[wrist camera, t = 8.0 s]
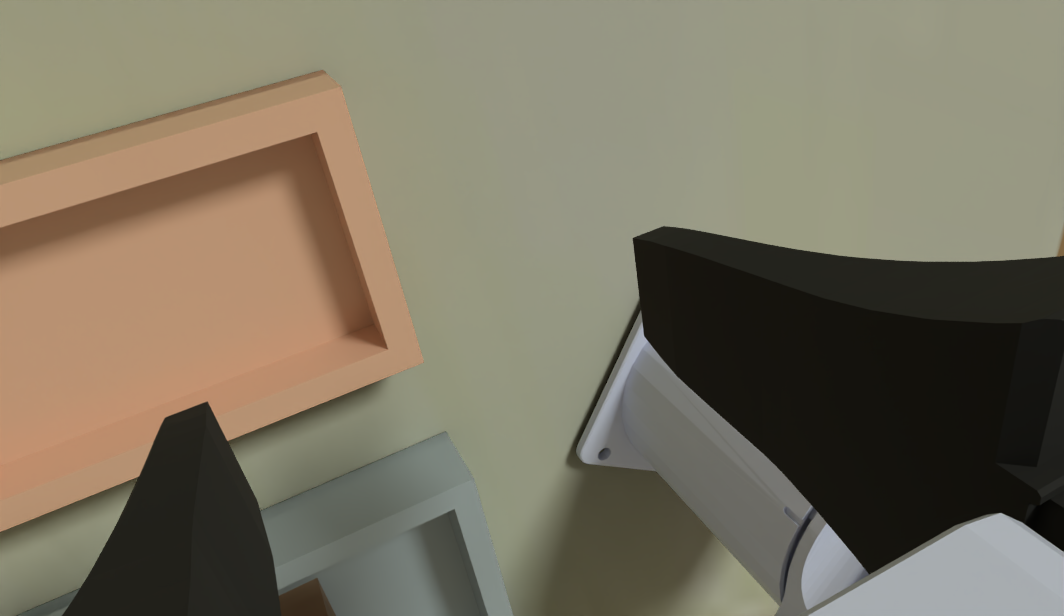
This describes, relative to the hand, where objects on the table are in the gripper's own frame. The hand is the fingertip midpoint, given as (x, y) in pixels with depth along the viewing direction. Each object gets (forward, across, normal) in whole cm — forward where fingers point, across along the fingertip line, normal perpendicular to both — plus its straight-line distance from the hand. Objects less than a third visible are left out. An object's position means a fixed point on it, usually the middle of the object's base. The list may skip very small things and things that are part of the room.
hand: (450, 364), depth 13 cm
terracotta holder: (+9, +6, +1) cm, 11 cm away
